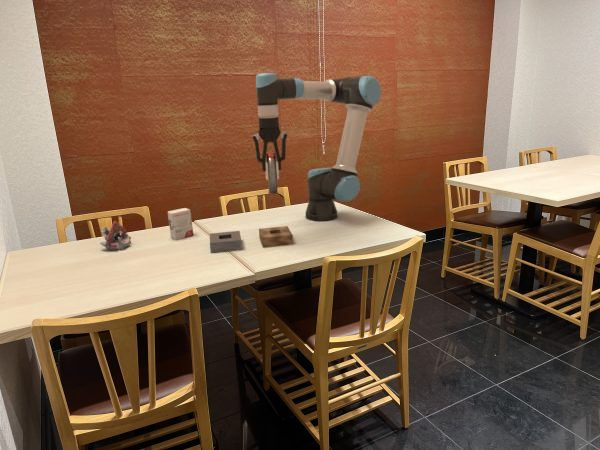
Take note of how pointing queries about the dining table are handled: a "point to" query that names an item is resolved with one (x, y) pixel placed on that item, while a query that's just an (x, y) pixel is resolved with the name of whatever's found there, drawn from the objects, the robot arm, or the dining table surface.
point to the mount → (275, 236)
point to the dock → (225, 241)
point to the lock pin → (272, 173)
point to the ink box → (180, 223)
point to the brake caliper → (116, 237)
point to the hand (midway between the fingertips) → (272, 178)
